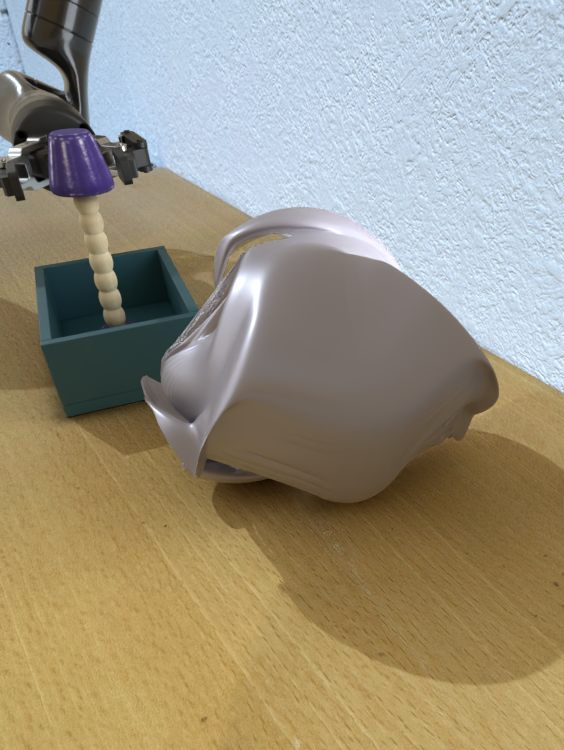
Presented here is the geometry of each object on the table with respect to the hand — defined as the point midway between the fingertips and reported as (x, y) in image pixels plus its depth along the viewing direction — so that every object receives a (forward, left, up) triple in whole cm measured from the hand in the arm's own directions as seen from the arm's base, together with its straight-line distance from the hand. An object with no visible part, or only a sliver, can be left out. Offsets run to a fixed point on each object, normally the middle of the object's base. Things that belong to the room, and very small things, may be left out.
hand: (73, 179), depth 56 cm
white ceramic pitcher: (+20, -22, -14) cm, 33 cm away
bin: (+2, -4, -13) cm, 14 cm away
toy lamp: (+2, -4, -13) cm, 14 cm away
